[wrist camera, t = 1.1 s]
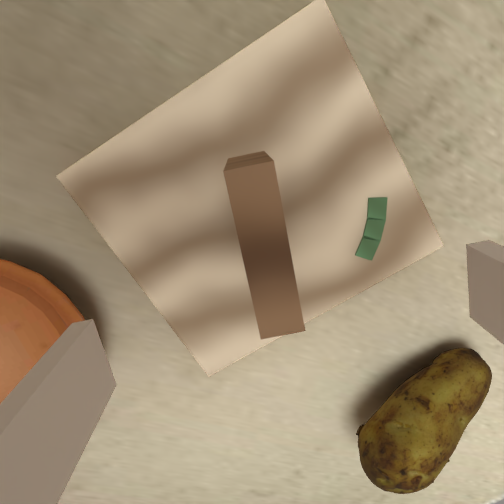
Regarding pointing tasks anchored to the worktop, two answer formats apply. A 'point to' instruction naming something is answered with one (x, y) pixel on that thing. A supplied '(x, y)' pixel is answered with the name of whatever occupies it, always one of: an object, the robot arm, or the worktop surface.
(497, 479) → the worktop surface
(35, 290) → the pie
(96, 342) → the robot arm
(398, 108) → the worktop surface
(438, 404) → the potato
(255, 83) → the plate
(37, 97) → the worktop surface
